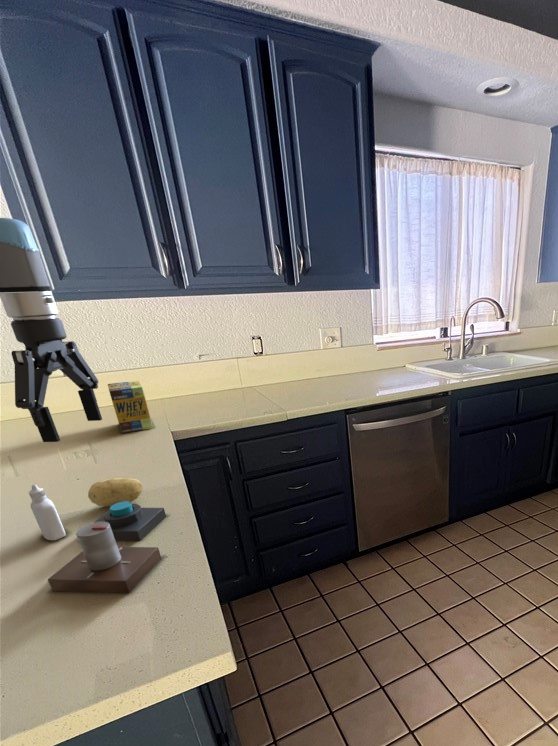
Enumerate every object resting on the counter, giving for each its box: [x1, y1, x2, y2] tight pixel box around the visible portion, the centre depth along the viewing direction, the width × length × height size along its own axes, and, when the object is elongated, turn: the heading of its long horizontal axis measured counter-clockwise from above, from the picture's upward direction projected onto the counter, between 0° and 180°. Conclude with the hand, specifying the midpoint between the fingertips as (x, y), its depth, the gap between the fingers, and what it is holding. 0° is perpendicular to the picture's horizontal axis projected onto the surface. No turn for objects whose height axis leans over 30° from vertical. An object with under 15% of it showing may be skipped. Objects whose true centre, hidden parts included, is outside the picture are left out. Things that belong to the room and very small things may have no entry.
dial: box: [75, 521, 121, 571], centre depth 75 cm, size 5×5×7 cm
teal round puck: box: [109, 501, 133, 517], centre depth 90 cm, size 4×4×2 cm
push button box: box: [92, 503, 167, 541], centre depth 92 cm, size 12×10×4 cm
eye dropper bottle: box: [28, 483, 66, 541], centre depth 88 cm, size 4×6×12 cm
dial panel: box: [47, 546, 162, 594], centre depth 77 cm, size 14×10×3 cm
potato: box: [87, 477, 143, 508], centre depth 102 cm, size 7×11×6 cm, turn 111°
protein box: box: [107, 380, 154, 434], centre depth 159 cm, size 10×15×16 cm
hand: (75, 430), depth 86 cm, fingers open, 13 cm apart
